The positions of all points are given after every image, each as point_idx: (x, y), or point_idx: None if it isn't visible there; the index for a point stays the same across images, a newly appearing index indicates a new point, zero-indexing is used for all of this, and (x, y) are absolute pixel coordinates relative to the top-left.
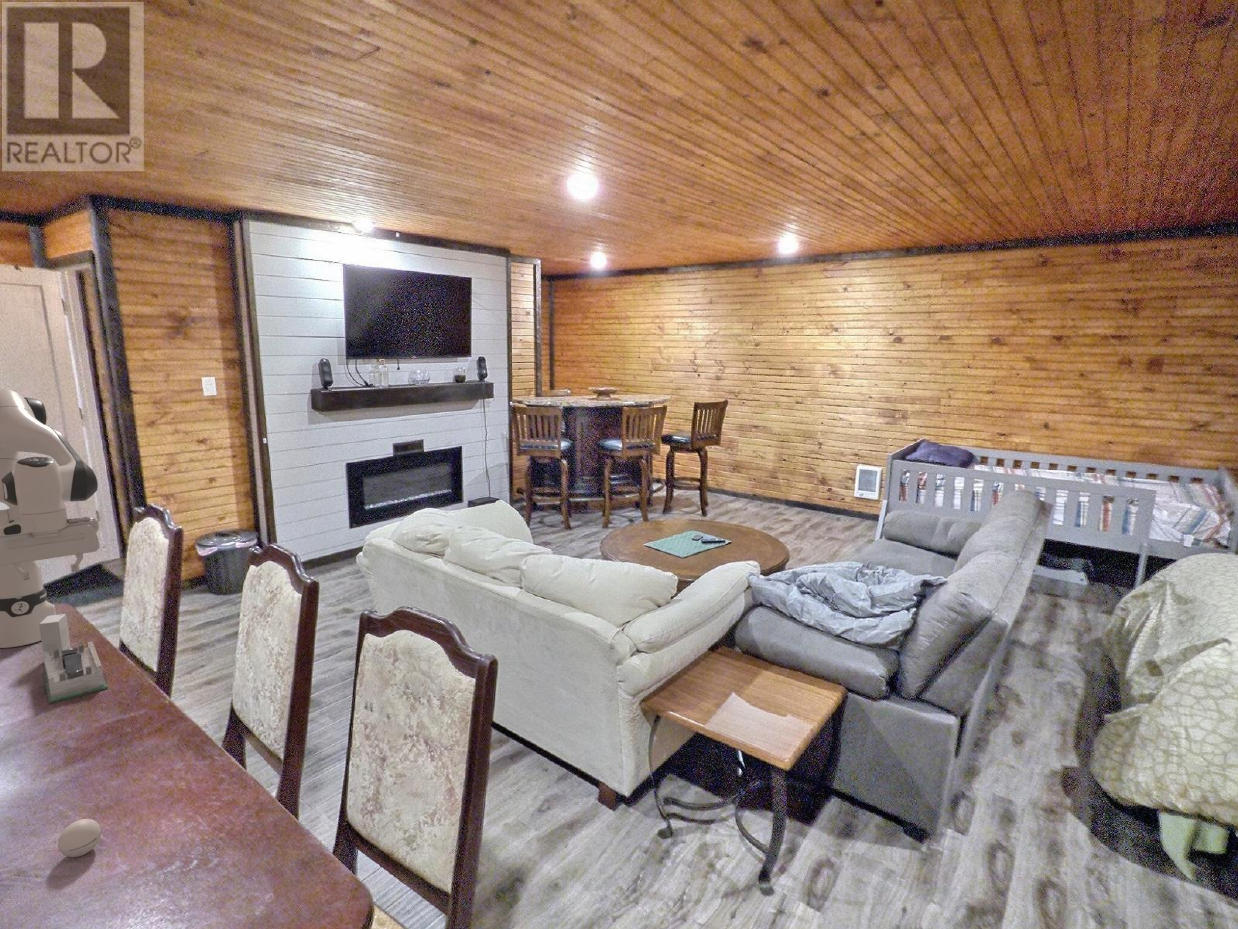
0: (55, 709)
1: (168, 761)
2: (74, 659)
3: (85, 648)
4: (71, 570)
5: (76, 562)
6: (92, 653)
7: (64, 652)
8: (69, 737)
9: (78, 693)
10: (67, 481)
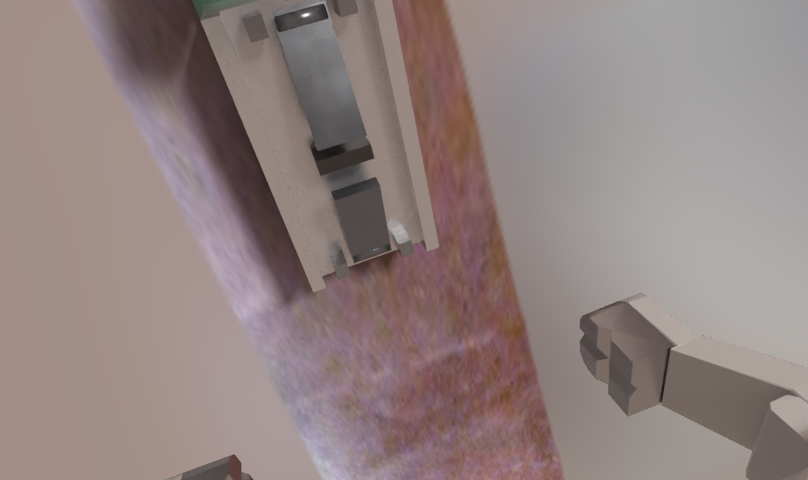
0: None
1: (507, 460)
2: (367, 213)
3: None
4: (585, 323)
5: (695, 409)
6: (404, 133)
7: (323, 148)
8: (377, 393)
9: None
10: None
